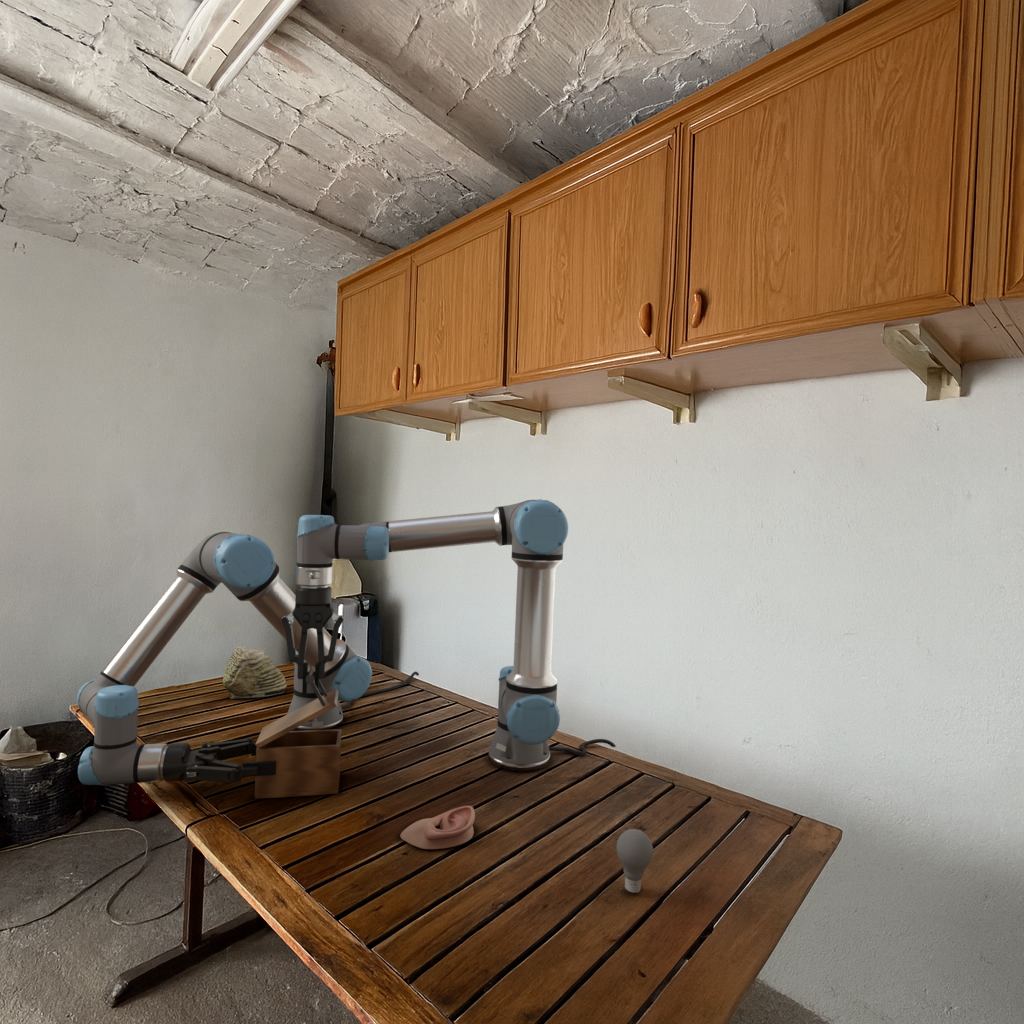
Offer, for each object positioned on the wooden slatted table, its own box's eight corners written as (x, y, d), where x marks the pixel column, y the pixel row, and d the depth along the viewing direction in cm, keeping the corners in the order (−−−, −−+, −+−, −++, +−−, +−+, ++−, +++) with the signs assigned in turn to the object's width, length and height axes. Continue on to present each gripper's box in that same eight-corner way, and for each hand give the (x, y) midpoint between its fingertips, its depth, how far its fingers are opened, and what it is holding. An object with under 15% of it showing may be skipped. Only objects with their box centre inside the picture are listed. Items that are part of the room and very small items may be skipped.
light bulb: (610, 879, 108) (613, 822, 108) (644, 879, 109) (647, 822, 109) (619, 902, 102) (622, 840, 102) (655, 901, 103) (658, 840, 103)
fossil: (218, 695, 195) (220, 647, 195) (278, 685, 208) (279, 640, 207) (228, 703, 189) (230, 653, 188) (289, 692, 201) (290, 645, 201)
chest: (339, 773, 145) (341, 729, 145) (337, 793, 135) (339, 745, 135) (262, 778, 141) (263, 732, 141) (254, 799, 132) (256, 749, 131)
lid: (338, 692, 144) (321, 660, 143) (336, 706, 135) (318, 672, 134) (265, 731, 141) (246, 698, 140) (257, 748, 131) (238, 714, 130)
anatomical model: (394, 823, 116) (416, 795, 127) (393, 844, 116) (415, 814, 128) (464, 834, 114) (480, 804, 125) (463, 855, 114) (479, 824, 125)
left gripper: (181, 758, 143) (285, 753, 148) (147, 806, 121) (270, 799, 126) (182, 725, 143) (286, 722, 148) (148, 767, 121) (272, 761, 126)
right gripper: (275, 588, 132) (272, 699, 133) (348, 588, 136) (345, 697, 136) (280, 583, 140) (277, 689, 140) (349, 583, 143) (346, 687, 144)
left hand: (279, 757), depth 137 cm, fingers closed on chest, 10 cm apart
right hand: (310, 693), depth 138 cm, fingers closed on lid, 2 cm apart
